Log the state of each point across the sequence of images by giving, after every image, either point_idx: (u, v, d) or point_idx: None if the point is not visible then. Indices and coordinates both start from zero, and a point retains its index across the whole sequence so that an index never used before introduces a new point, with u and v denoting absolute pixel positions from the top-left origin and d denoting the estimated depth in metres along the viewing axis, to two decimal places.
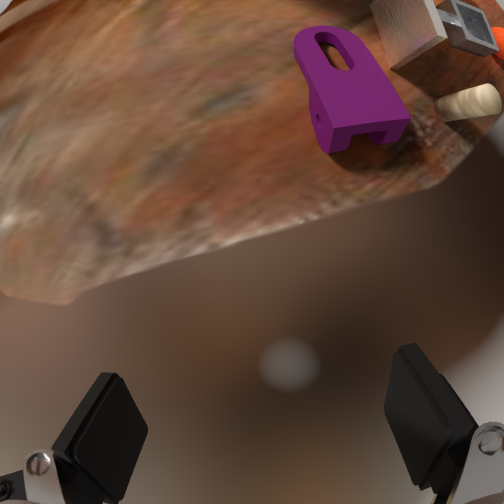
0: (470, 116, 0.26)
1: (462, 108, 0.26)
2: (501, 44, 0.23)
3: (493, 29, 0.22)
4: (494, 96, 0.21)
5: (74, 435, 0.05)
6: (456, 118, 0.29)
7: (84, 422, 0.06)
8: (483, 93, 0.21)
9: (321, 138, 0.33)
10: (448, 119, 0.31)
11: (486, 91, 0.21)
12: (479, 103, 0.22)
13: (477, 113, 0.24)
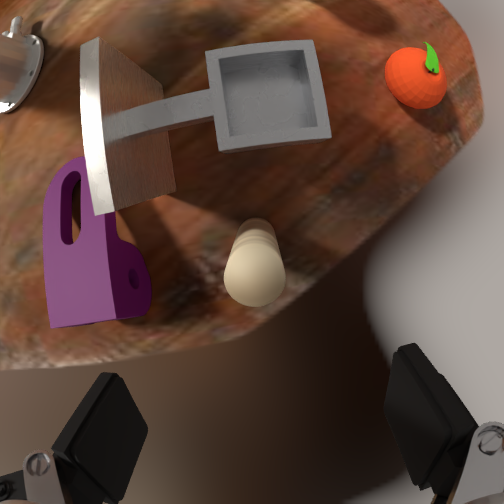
0: None
1: None
2: (404, 85, 0.21)
3: (394, 55, 0.20)
4: (262, 272, 0.19)
5: (74, 435, 0.05)
6: None
7: (84, 422, 0.06)
8: (227, 277, 0.19)
9: None
10: None
11: (239, 268, 0.18)
12: None
13: None
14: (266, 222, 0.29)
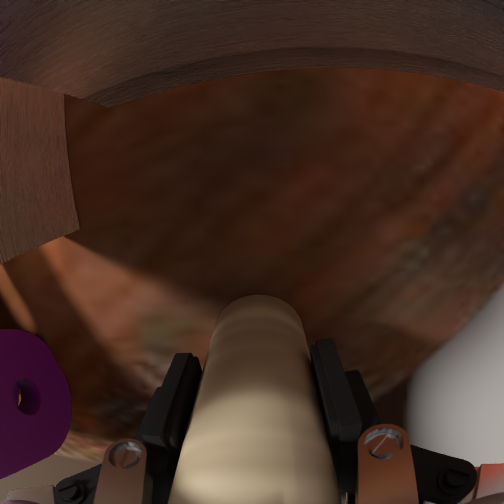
0: None
1: None
2: None
3: None
4: None
5: (166, 416, 0.06)
6: None
7: (173, 402, 0.07)
8: None
9: None
10: None
11: None
12: None
13: None
14: (285, 313, 0.11)
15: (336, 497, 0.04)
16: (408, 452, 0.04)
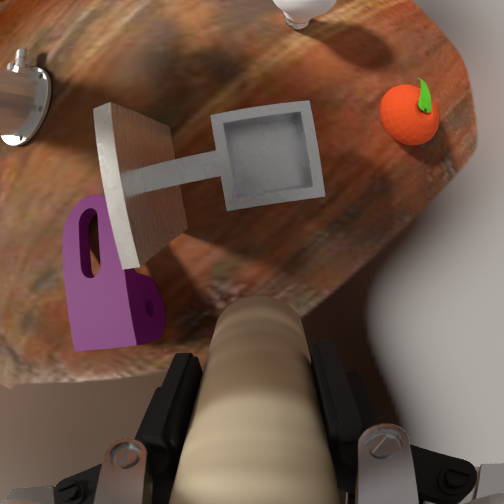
0: None
1: None
2: (397, 126, 0.24)
3: (389, 94, 0.24)
4: None
5: (166, 416, 0.06)
6: None
7: (173, 402, 0.07)
8: None
9: None
10: None
11: None
12: None
13: None
14: (285, 314, 0.11)
15: (336, 498, 0.04)
16: (408, 452, 0.04)
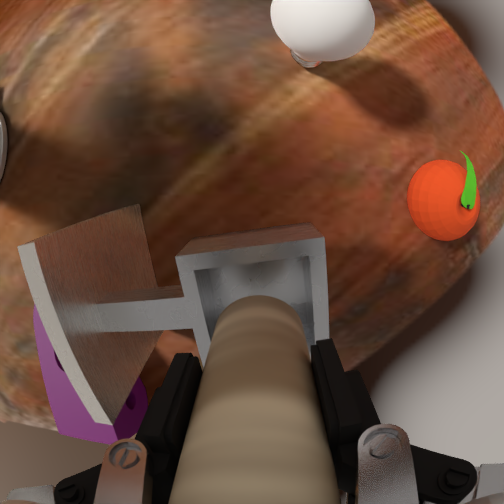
0: None
1: None
2: (429, 223, 0.19)
3: (424, 176, 0.19)
4: None
5: (166, 416, 0.06)
6: None
7: (173, 402, 0.07)
8: None
9: None
10: None
11: None
12: None
13: None
14: (285, 314, 0.11)
15: (336, 497, 0.04)
16: (409, 452, 0.04)
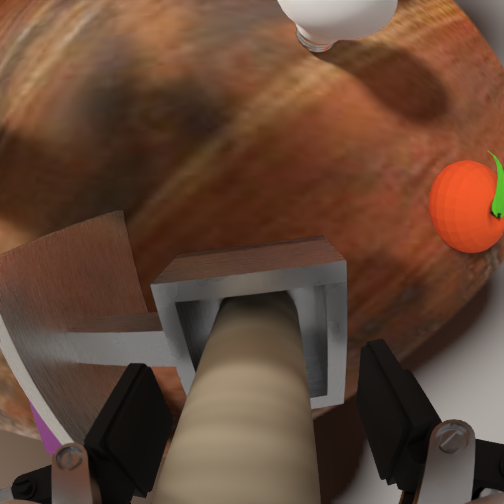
0: None
1: None
2: (455, 233, 0.16)
3: (451, 179, 0.15)
4: None
5: (108, 425, 0.06)
6: None
7: (117, 412, 0.06)
8: None
9: None
10: None
11: None
12: None
13: None
14: (280, 299, 0.12)
15: (311, 459, 0.05)
16: (472, 450, 0.04)
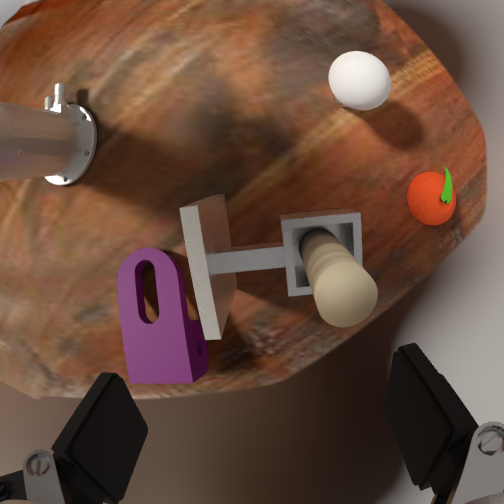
0: None
1: None
2: (420, 212, 0.30)
3: (417, 182, 0.29)
4: (357, 292, 0.17)
5: (74, 435, 0.05)
6: None
7: (84, 422, 0.06)
8: (320, 297, 0.17)
9: None
10: None
11: (334, 289, 0.17)
12: None
13: None
14: (332, 233, 0.27)
15: None
16: None
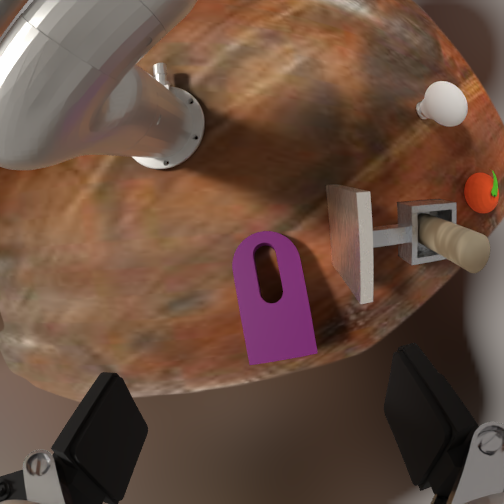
0: None
1: (439, 250, 0.27)
2: (477, 203, 0.34)
3: (474, 181, 0.34)
4: (481, 249, 0.21)
5: (74, 435, 0.05)
6: None
7: (84, 422, 0.06)
8: (466, 252, 0.21)
9: None
10: None
11: (472, 246, 0.21)
12: (458, 260, 0.23)
13: None
14: None
15: None
16: None
